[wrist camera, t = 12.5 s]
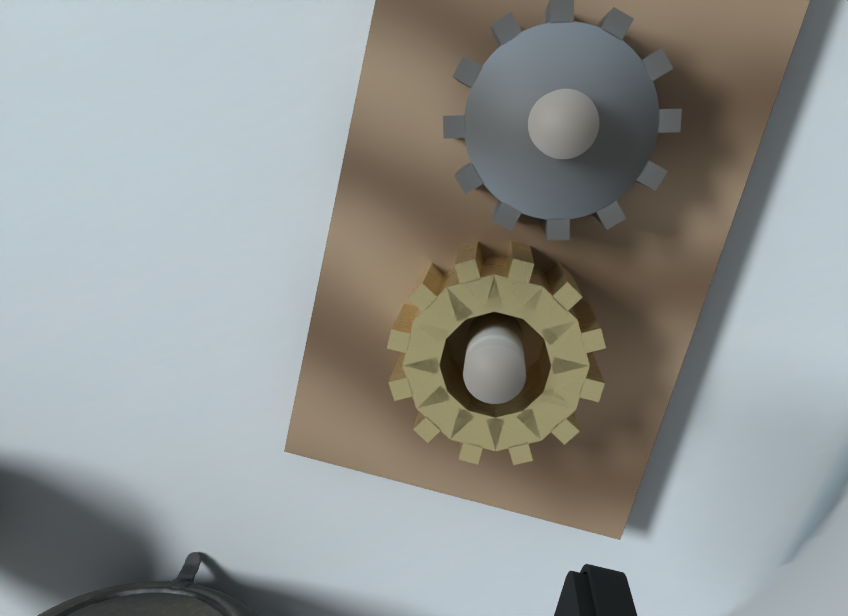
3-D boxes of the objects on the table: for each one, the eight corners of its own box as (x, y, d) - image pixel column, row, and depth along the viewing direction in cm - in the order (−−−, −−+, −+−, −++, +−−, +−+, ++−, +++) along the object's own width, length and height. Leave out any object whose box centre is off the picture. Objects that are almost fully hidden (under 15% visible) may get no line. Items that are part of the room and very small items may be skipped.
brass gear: (424, 219, 27) (413, 233, 24) (618, 267, 27) (635, 288, 24) (381, 398, 29) (366, 435, 26) (562, 445, 29) (571, 488, 26)
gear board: (409, -128, 26) (383, -198, 20) (806, -35, 25) (898, -79, 19) (293, 435, 32) (248, 507, 26) (614, 520, 31) (641, 612, 25)
